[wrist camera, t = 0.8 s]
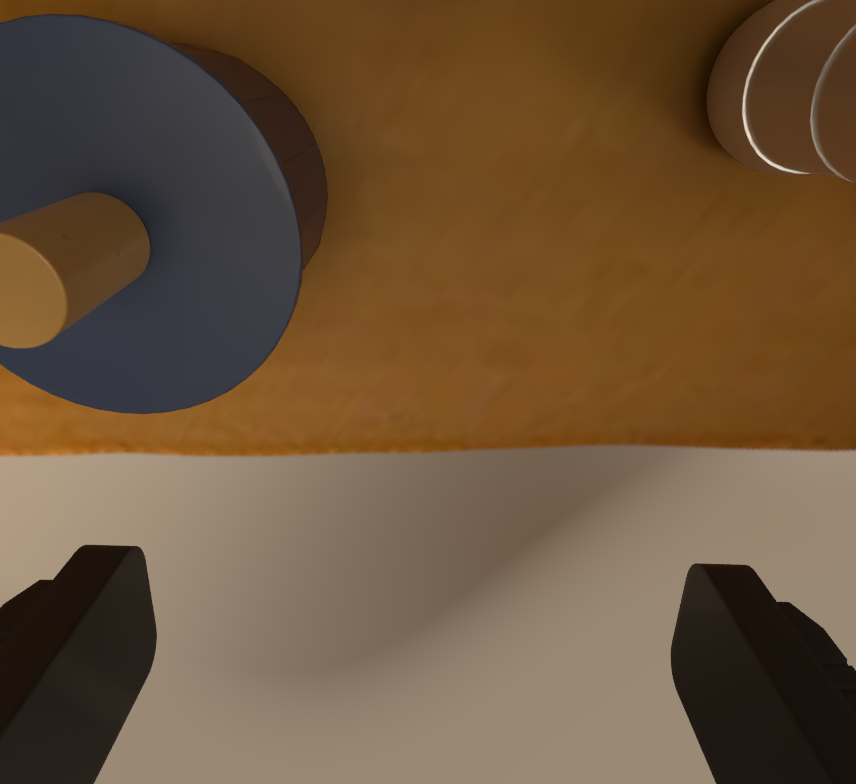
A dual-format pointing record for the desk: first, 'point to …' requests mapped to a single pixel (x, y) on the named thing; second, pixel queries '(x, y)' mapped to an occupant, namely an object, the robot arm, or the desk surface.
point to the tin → (279, 137)
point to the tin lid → (136, 220)
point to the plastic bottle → (789, 89)
